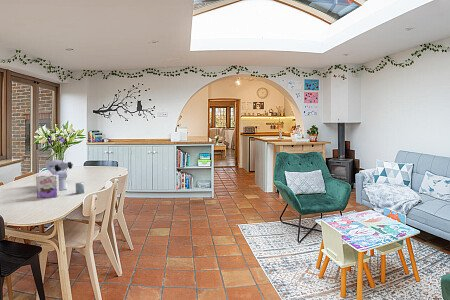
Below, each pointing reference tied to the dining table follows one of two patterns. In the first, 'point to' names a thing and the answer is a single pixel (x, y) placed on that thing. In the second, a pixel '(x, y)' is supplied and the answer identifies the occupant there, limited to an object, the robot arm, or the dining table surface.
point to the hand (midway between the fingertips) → (65, 168)
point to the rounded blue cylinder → (79, 188)
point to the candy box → (47, 186)
